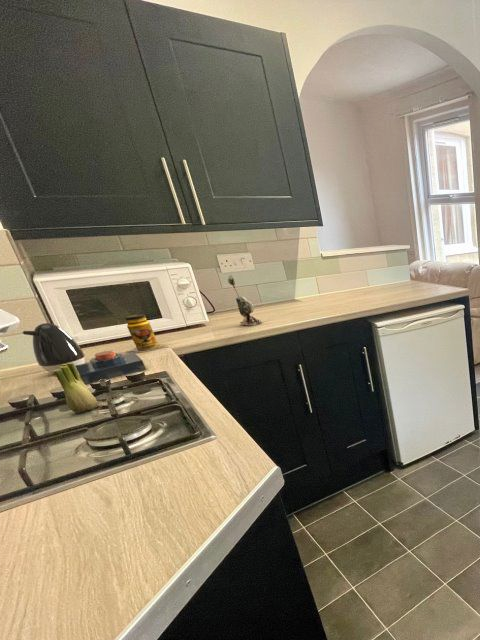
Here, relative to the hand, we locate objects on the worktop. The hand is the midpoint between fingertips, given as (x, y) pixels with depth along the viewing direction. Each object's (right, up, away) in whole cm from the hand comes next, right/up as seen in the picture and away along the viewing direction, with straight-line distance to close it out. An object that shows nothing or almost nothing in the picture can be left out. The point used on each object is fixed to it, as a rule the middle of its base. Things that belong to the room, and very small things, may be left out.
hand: (2, 351), depth 96 cm
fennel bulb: (+12, -14, +7) cm, 20 cm away
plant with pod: (+9, +17, +77) cm, 80 cm away
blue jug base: (-4, -4, +31) cm, 31 cm away
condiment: (-12, +5, +52) cm, 54 cm away
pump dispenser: (-21, -4, +34) cm, 40 cm away
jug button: (-4, 0, +29) cm, 29 cm away
